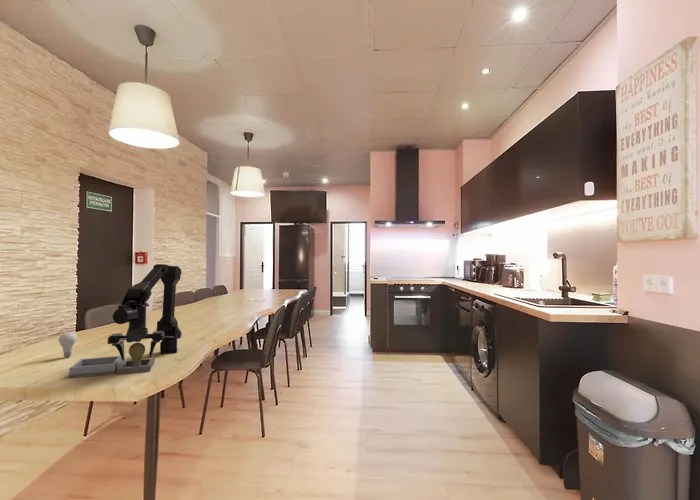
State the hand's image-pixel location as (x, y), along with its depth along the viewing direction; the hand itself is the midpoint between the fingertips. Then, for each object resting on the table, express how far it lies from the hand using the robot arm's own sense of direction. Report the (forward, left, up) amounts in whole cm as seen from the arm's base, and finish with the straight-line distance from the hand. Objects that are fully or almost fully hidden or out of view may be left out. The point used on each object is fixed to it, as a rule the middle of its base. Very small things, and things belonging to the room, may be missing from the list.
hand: (136, 358), depth 139 cm
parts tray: (+14, -2, -4) cm, 14 cm away
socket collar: (0, 0, -4) cm, 4 cm away
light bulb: (0, 0, -4) cm, 4 cm away
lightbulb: (+31, -27, -4) cm, 41 cm away
